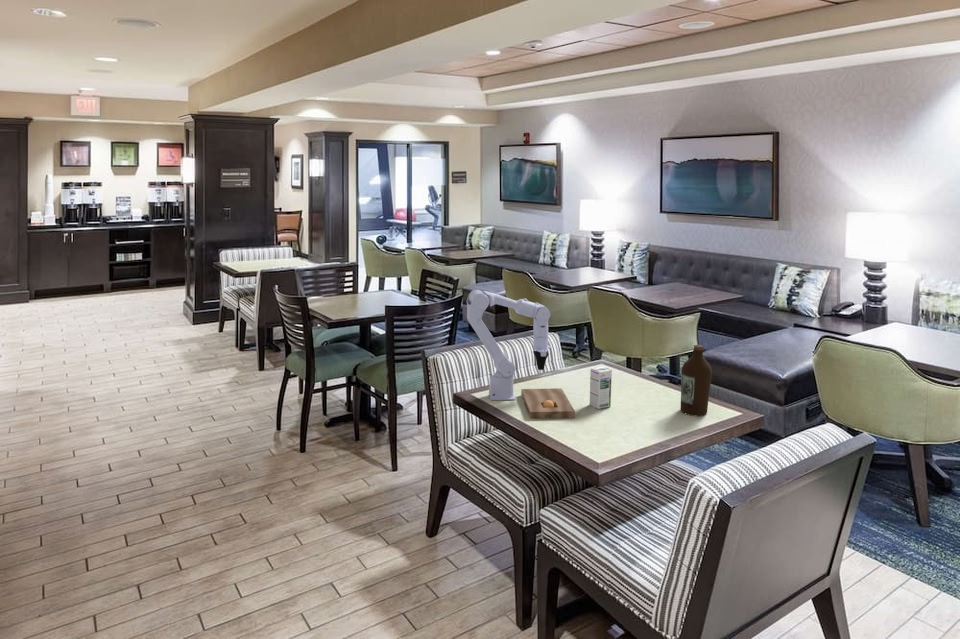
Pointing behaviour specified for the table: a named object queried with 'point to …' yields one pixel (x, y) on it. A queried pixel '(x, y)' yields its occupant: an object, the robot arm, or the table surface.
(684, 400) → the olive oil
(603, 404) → the syrup box
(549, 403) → the ball
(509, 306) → the robot arm
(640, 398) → the table surface
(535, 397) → the brown wooden flat board
